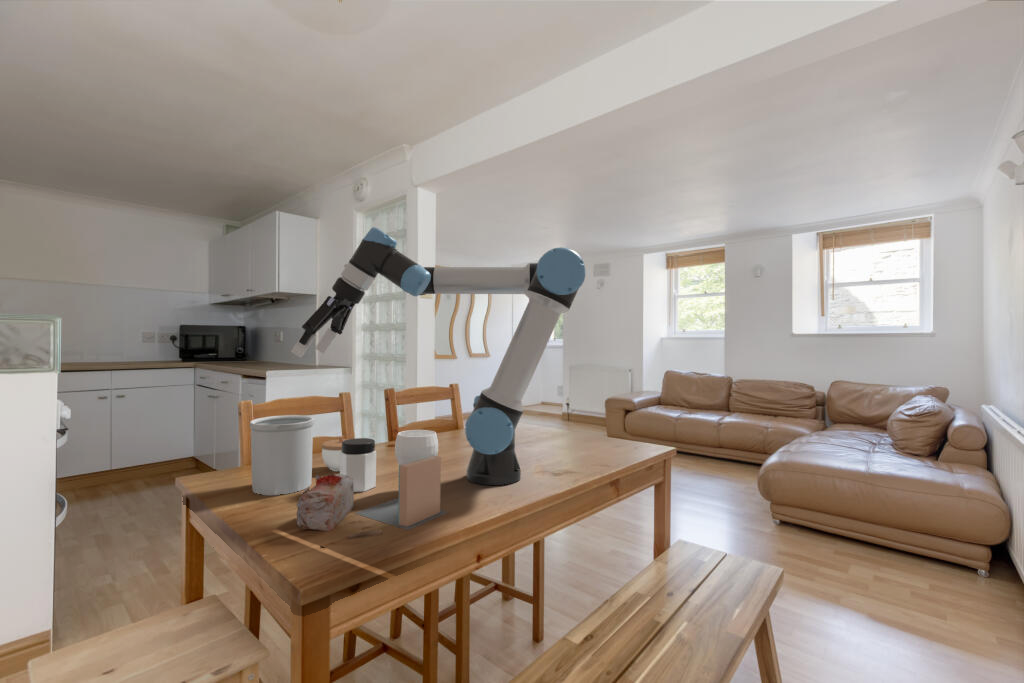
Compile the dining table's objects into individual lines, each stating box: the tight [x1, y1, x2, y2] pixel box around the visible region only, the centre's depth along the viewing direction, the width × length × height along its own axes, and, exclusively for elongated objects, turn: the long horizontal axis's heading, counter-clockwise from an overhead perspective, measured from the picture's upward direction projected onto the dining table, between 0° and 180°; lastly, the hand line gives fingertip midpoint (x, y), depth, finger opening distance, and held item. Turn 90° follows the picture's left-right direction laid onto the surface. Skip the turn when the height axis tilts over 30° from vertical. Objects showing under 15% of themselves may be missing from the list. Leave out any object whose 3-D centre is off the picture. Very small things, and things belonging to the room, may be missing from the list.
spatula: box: [319, 528, 383, 550], centre depth 89 cm, size 11×4×1 cm, turn 113°
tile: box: [397, 455, 442, 527], centre depth 99 cm, size 2×10×12 cm, turn 147°
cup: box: [394, 429, 439, 466], centre depth 117 cm, size 11×11×15 cm
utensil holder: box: [249, 414, 315, 496], centre depth 121 cm, size 15×15×18 cm
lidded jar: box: [321, 436, 349, 472], centre depth 139 cm, size 11×11×9 cm
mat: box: [354, 498, 449, 531], centre depth 102 cm, size 16×12×1 cm
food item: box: [296, 473, 355, 532], centre depth 98 cm, size 14×8×10 cm, turn 1°
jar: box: [339, 437, 377, 493], centre depth 121 cm, size 9×8×12 cm
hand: (308, 352), depth 121 cm, fingers open, 13 cm apart
